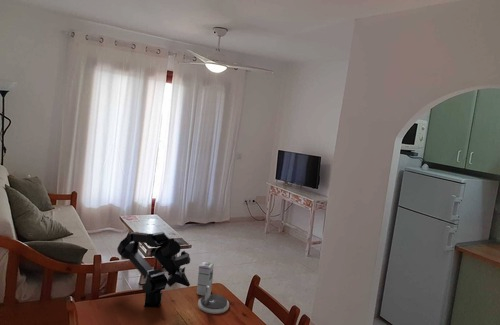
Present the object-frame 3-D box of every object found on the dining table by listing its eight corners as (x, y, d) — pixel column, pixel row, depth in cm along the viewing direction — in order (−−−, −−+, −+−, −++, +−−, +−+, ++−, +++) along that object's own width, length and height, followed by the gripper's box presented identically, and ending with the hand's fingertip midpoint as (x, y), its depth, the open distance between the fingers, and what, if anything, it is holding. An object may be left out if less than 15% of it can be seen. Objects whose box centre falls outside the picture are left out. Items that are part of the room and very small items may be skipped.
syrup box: (207, 296, 179) (210, 267, 178) (196, 294, 180) (198, 265, 179) (211, 291, 185) (214, 263, 183) (200, 289, 186) (202, 261, 184)
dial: (195, 301, 170) (196, 282, 169) (212, 293, 179) (214, 275, 178) (215, 312, 163) (217, 292, 162) (232, 303, 172) (234, 284, 171)
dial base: (196, 312, 164) (197, 308, 163) (199, 297, 177) (199, 294, 177) (229, 314, 165) (229, 311, 165) (228, 299, 179) (228, 296, 178)
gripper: (177, 255, 153) (202, 283, 155) (182, 240, 172) (204, 266, 174) (156, 272, 153) (181, 300, 156) (163, 256, 172) (185, 281, 174)
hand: (189, 285), depth 165 cm, fingers closed
